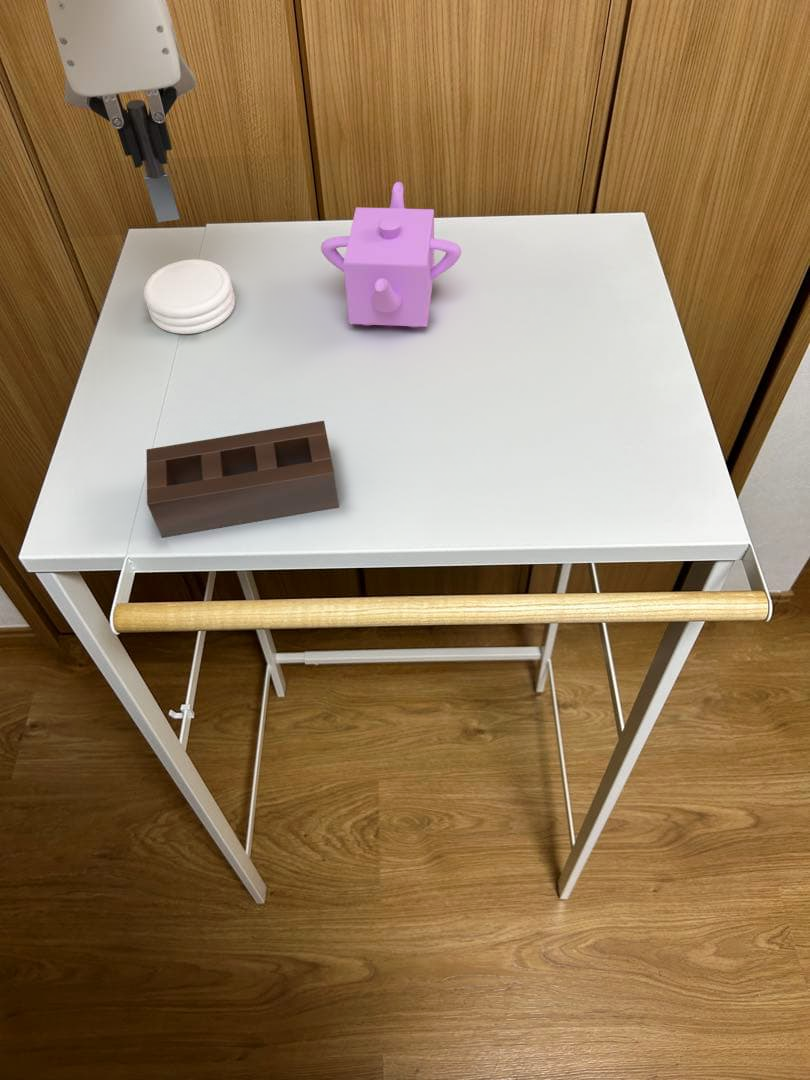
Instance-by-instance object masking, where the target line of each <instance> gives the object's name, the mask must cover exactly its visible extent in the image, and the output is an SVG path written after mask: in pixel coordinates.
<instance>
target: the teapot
mask: <svg viewBox="0 0 810 1080" xmlns="http://www.w3.org/2000/svg"><path fill="white" fill-rule="evenodd" d="M338 248H346V251H345V255H344V257H343V256H342V255H341V254H340V252H339V251H338ZM435 250H437V251H441V252H444V253H445V255H444V256H443V258H442V259H440V260H439V262H438V263H437V264H435ZM320 251H321V253H322V255H323V256H324V257H325V259H326V260H327V261H328V262H329V263H330V264H332V265H333V266H334V267H336V268H337V269H338V270H340V271H341V272H343V275H344V286H345V293H346V294H345V296H346V303H347V313H348V315H347V316H348V323H349V325H361V326H365V327H371V326H373V325H374V326H399V327H408V328H412V329H415V328H421V327H422V328H423V327H424V328H425V327H426V328H428V325H429V317H430V309H431V302H432V301H431V299H432V292H433V283H434V279H435V278H437V277H438V276H440V275H442V274H443V273H444V272H447V270H449V269H450V268H452V267H453V266H454V265H455V264H456V263H457V262H458V260H460V257H461V255H462V248H461V246H460V245H459V244H458V243H456V242H454V241H452V240H446V239H443V238H442V239H441V238H435V210H434V209H433V208H405V201H404V184H403V183H402V182H401V181H396V182H395V183H394V184H393V186H392V190H391V199H390V205H389V207H359V206H357V207H355V209H354V215H353V219H352V224H351V227H350V232H349V235H342V236H341V235H340V236H333V237H329V238H327V239H325V240H323V242H321V245H320Z"/></svg>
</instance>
